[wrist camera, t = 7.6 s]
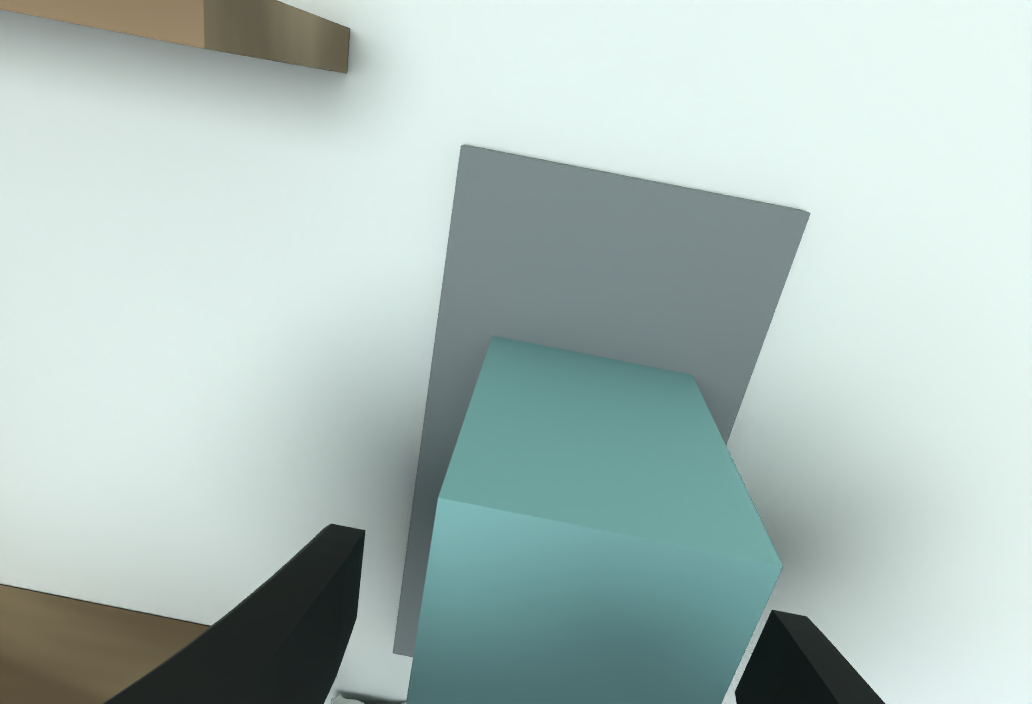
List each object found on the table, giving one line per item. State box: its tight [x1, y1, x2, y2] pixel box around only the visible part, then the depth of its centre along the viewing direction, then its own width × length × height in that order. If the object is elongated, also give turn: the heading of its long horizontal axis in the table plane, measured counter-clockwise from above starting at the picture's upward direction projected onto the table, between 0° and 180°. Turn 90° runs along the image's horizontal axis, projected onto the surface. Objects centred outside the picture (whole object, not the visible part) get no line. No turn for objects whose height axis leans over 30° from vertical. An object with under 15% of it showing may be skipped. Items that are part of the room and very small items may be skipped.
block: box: [406, 335, 783, 704], centre depth 12 cm, size 6×4×6 cm
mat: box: [393, 145, 810, 657], centre depth 15 cm, size 14×7×1 cm, turn 170°
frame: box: [0, 0, 350, 704], centre depth 13 cm, size 17×12×5 cm
